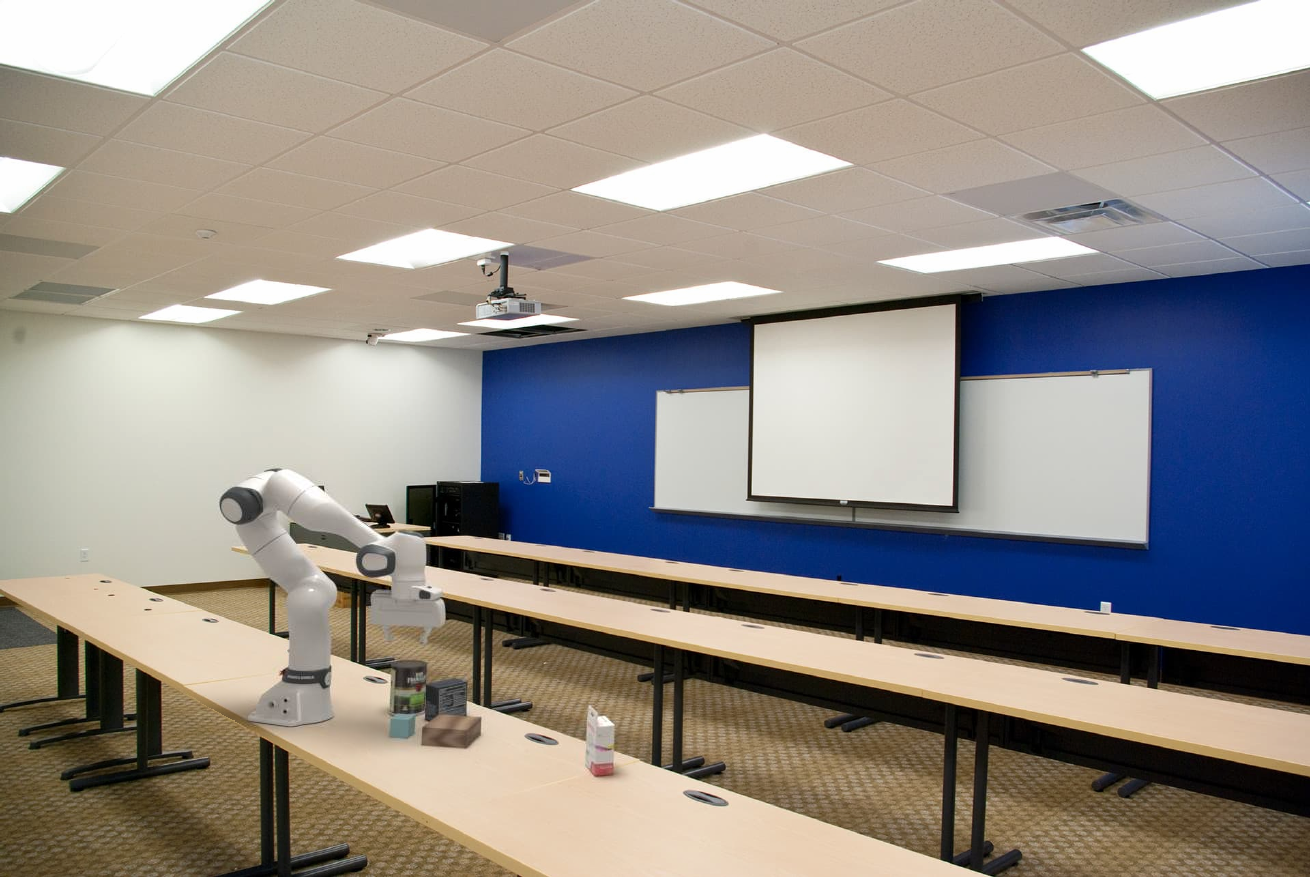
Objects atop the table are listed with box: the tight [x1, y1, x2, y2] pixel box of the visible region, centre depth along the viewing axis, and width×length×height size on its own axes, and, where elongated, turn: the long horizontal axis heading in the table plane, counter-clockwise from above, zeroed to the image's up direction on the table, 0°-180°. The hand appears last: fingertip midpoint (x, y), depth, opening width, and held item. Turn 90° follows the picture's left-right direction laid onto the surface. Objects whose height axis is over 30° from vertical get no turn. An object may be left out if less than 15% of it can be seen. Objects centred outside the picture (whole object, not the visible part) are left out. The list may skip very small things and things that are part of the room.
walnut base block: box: [420, 714, 482, 749], centre depth 226 cm, size 12×12×5 cm
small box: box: [424, 677, 468, 723], centre depth 245 cm, size 11×6×10 cm, turn 141°
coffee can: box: [388, 659, 428, 717], centre depth 250 cm, size 10×10×14 cm
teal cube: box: [389, 714, 416, 740], centre depth 228 cm, size 5×5×5 cm
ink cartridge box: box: [584, 705, 616, 777], centre depth 207 cm, size 9×5×15 cm, turn 21°
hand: (406, 642), depth 229 cm, fingers open, 8 cm apart
